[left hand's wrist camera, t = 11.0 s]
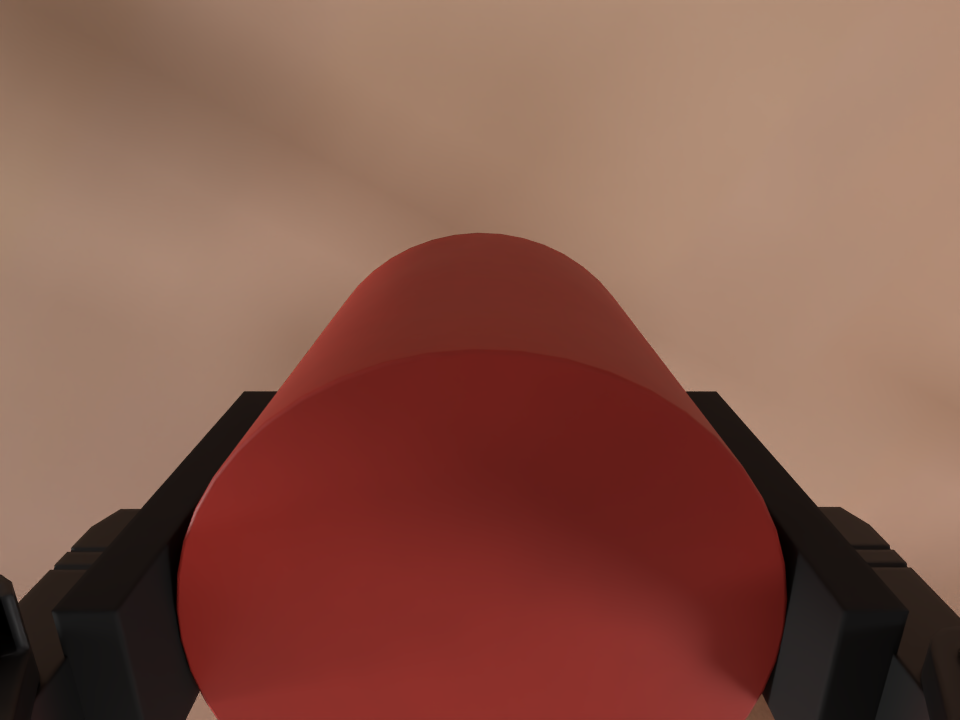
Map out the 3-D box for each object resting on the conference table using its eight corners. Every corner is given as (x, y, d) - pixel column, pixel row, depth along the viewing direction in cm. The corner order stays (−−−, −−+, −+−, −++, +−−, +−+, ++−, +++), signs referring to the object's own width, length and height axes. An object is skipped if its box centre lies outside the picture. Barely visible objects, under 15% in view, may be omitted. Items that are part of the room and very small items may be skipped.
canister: (562, 564, 19) (624, 894, 11) (284, 472, 18) (121, 762, 10) (697, 305, 16) (914, 485, 8) (379, 179, 15) (264, 243, 7)
